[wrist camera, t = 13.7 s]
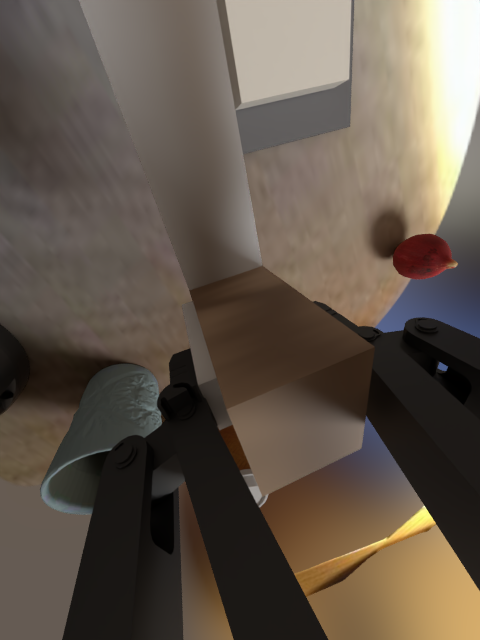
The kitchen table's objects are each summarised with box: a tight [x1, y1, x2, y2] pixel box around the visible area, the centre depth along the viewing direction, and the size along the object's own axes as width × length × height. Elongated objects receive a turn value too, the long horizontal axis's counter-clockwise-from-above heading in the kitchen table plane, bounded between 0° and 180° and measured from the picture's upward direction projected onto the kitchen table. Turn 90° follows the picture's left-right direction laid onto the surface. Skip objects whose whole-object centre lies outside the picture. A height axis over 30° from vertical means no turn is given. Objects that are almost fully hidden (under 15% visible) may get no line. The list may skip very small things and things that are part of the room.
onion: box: [393, 234, 458, 279], centre depth 30 cm, size 6×6×8 cm
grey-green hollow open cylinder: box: [40, 364, 162, 514], centre depth 26 cm, size 10×10×12 cm
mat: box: [235, 0, 354, 154], centre depth 19 cm, size 14×14×1 cm
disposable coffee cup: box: [218, 425, 268, 507], centre depth 36 cm, size 10×10×12 cm
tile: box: [216, 0, 351, 110], centre depth 17 cm, size 10×2×10 cm
